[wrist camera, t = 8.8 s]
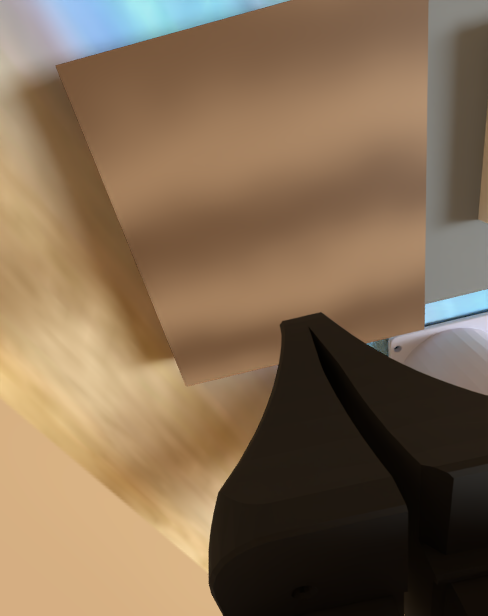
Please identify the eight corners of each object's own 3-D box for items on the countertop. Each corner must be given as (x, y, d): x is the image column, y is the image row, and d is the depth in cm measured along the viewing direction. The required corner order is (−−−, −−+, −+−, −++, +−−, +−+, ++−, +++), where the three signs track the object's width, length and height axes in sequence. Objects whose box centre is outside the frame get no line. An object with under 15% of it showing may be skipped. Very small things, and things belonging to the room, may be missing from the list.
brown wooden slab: (400, 304, 23) (424, 329, 21) (188, 355, 24) (186, 386, 21) (392, -14, 16) (429, -38, 13) (80, 72, 16) (55, 65, 14)
